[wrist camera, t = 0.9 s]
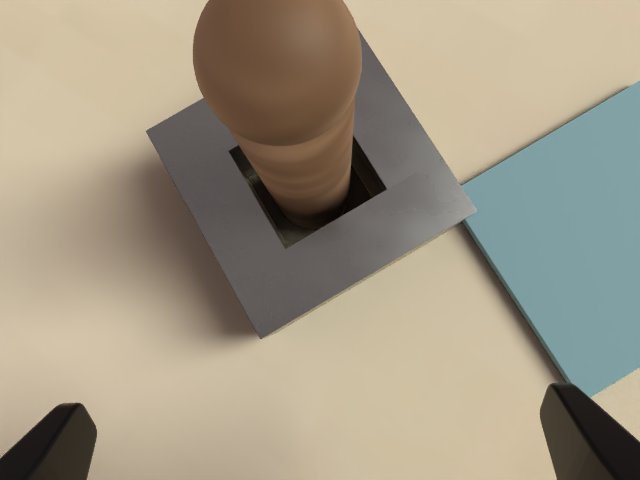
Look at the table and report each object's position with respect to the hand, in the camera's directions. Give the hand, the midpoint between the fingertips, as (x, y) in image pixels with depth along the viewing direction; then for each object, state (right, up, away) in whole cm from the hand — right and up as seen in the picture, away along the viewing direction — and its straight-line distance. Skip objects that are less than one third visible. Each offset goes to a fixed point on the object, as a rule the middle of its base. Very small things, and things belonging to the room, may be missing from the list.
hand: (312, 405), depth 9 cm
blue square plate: (+14, +3, +13) cm, 19 cm away
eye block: (0, +6, +14) cm, 15 cm away
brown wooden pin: (0, +6, +14) cm, 15 cm away
